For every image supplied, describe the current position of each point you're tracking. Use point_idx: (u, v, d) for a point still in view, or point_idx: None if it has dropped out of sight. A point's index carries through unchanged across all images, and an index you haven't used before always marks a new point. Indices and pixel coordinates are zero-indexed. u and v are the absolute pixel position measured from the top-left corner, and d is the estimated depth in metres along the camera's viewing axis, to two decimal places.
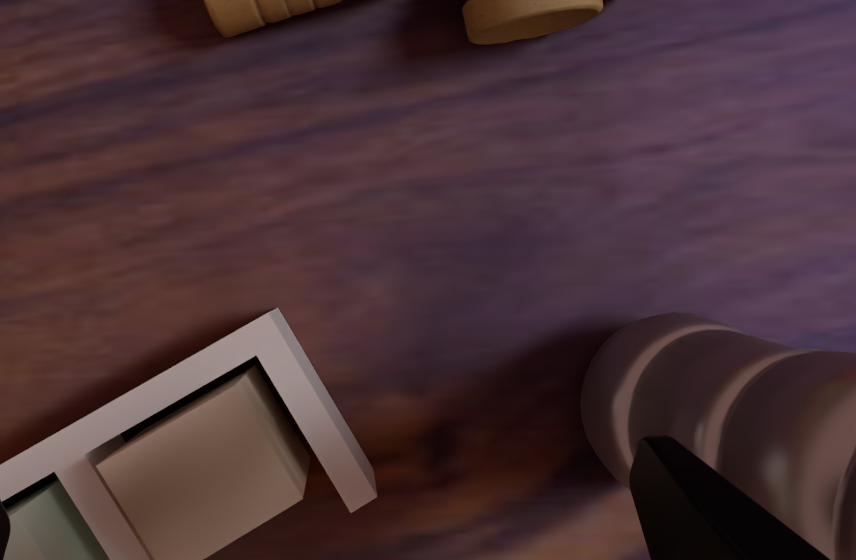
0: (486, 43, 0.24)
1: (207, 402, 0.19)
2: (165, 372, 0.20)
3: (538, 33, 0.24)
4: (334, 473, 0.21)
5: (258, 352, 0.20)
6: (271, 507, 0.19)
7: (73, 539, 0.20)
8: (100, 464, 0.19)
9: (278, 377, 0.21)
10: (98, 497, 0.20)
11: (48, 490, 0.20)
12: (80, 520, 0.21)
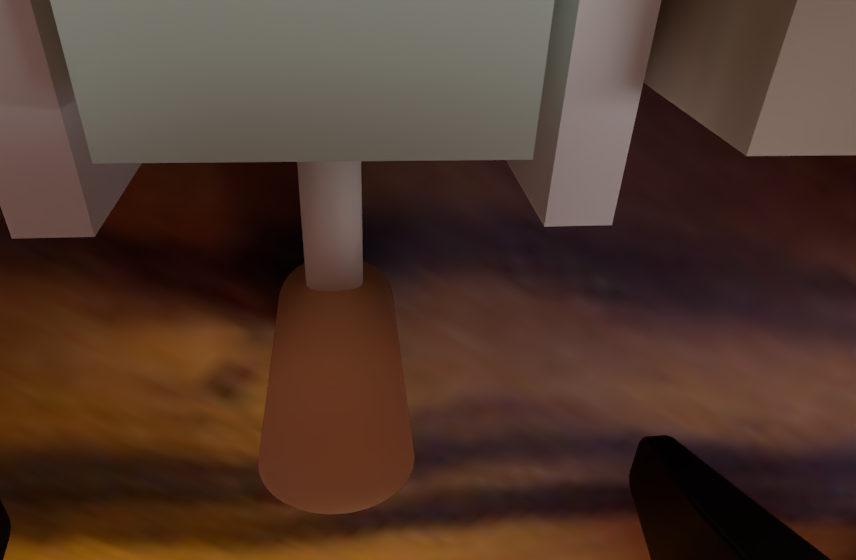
0: None
1: None
2: None
3: None
4: None
5: None
6: None
7: None
8: None
9: None
10: None
11: None
12: None
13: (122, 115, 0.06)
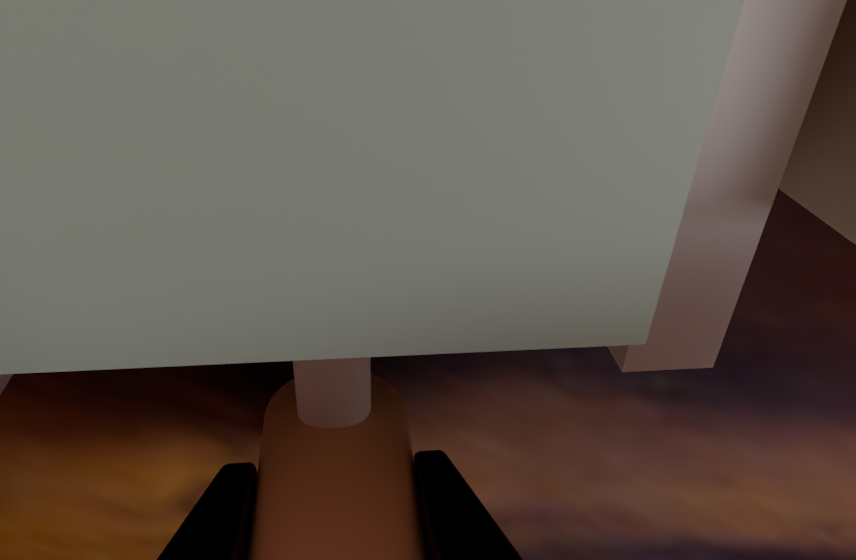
0: None
1: None
2: None
3: None
4: None
5: None
6: None
7: None
8: None
9: None
10: None
11: None
12: None
13: None
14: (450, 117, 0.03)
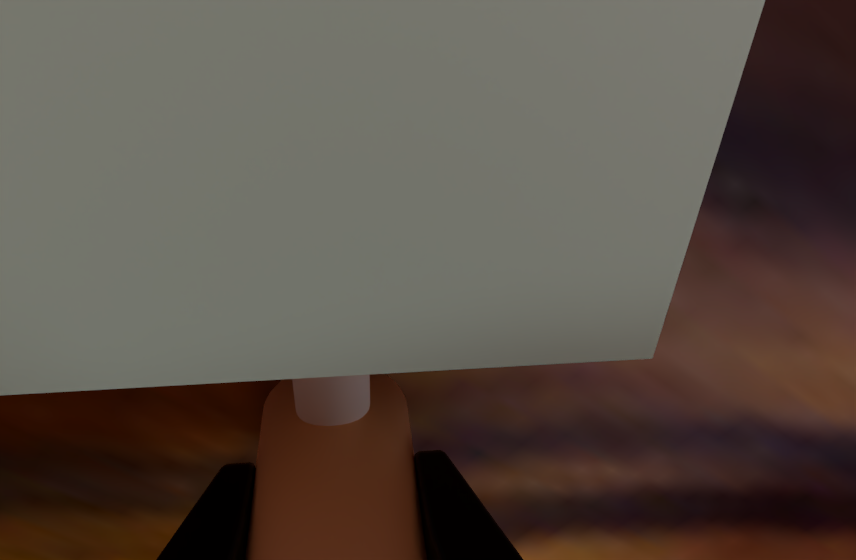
0: None
1: None
2: None
3: None
4: None
5: None
6: None
7: None
8: None
9: None
10: None
11: None
12: None
13: None
14: (444, 127, 0.03)
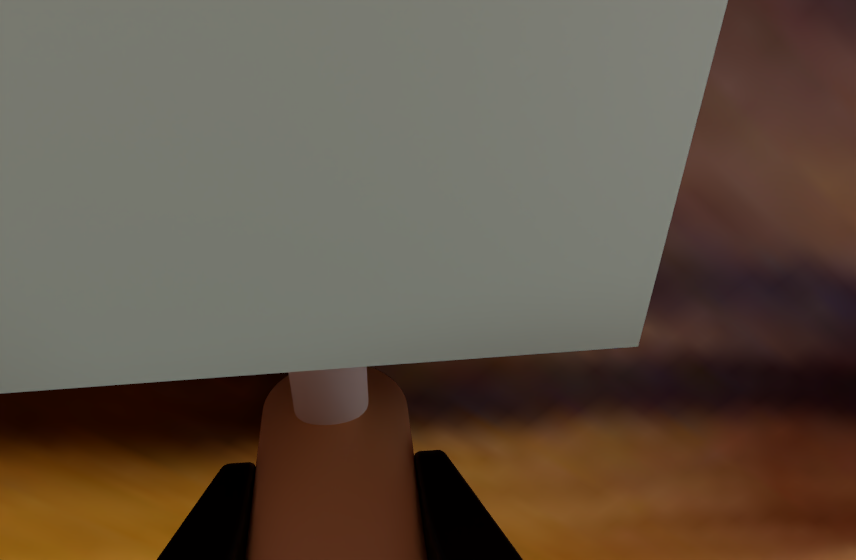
0: None
1: None
2: None
3: None
4: None
5: None
6: None
7: None
8: None
9: None
10: None
11: None
12: None
13: None
14: (417, 116, 0.03)
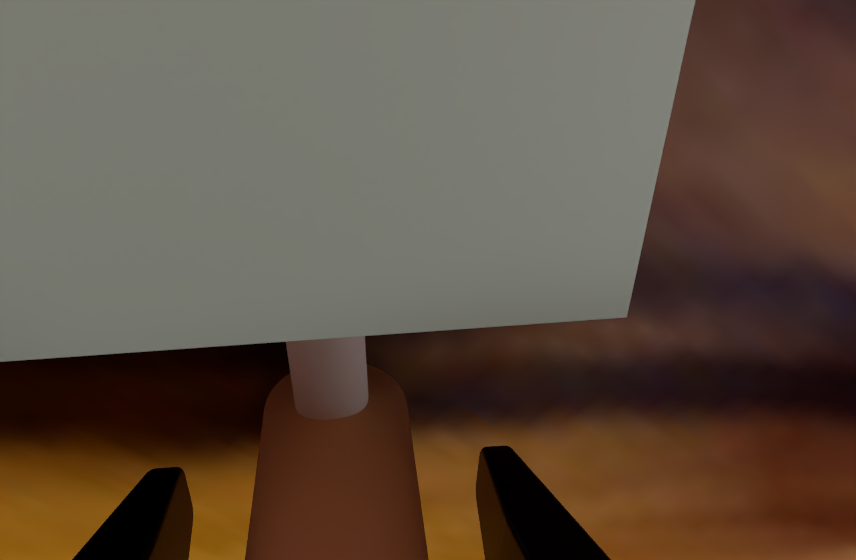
0: None
1: None
2: None
3: None
4: None
5: None
6: None
7: None
8: None
9: None
10: None
11: None
12: None
13: None
14: (410, 86, 0.03)
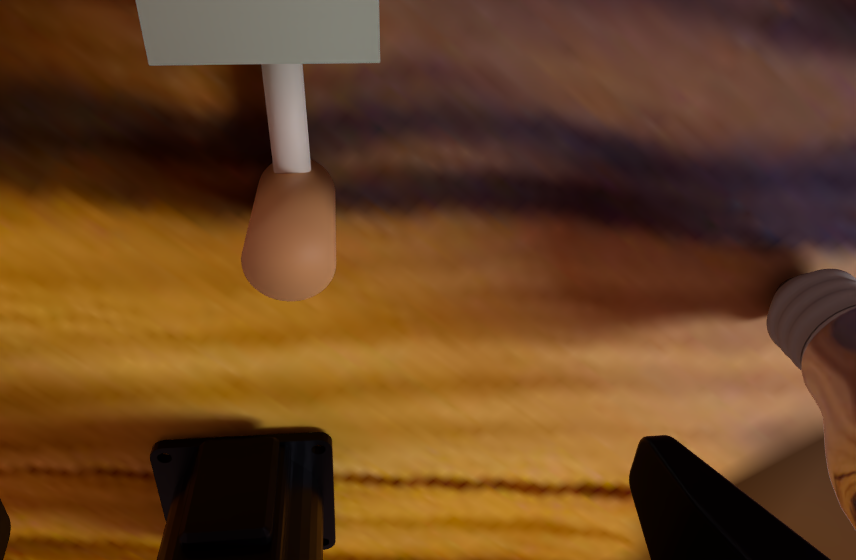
0: None
1: None
2: None
3: None
4: None
5: None
6: None
7: None
8: None
9: None
10: None
11: None
12: None
13: (164, 39, 0.12)
14: None
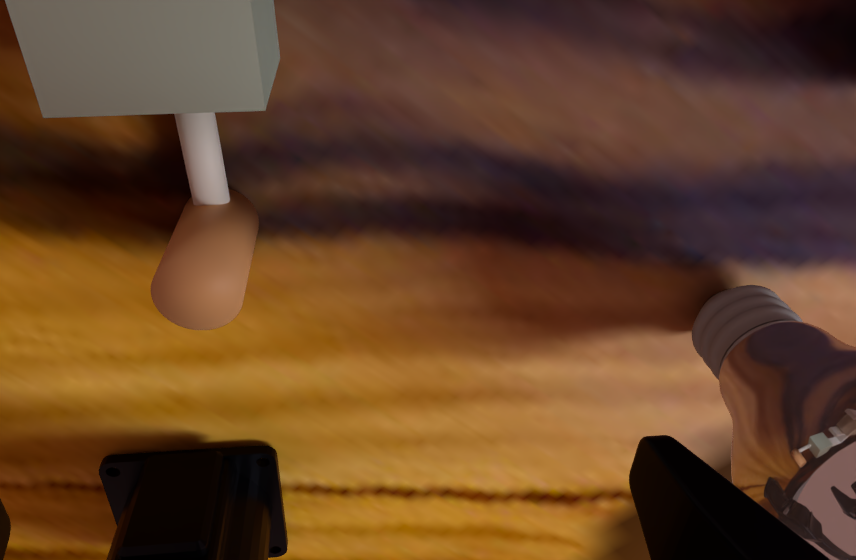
0: None
1: None
2: None
3: None
4: None
5: None
6: None
7: None
8: None
9: None
10: None
11: None
12: None
13: (55, 93, 0.13)
14: (180, 33, 0.13)
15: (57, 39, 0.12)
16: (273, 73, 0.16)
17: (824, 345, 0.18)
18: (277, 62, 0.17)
